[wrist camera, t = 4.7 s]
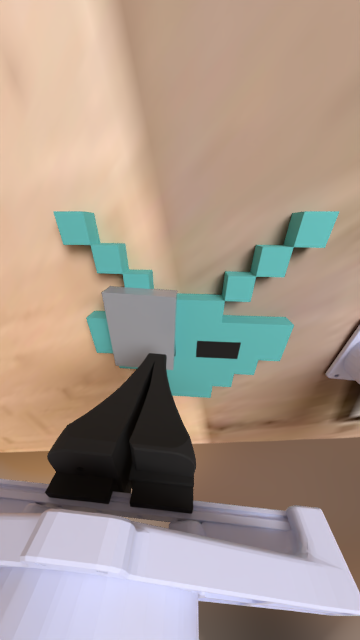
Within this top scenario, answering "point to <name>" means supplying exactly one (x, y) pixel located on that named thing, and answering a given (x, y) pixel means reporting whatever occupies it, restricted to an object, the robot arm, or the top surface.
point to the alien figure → (206, 305)
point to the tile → (141, 323)
